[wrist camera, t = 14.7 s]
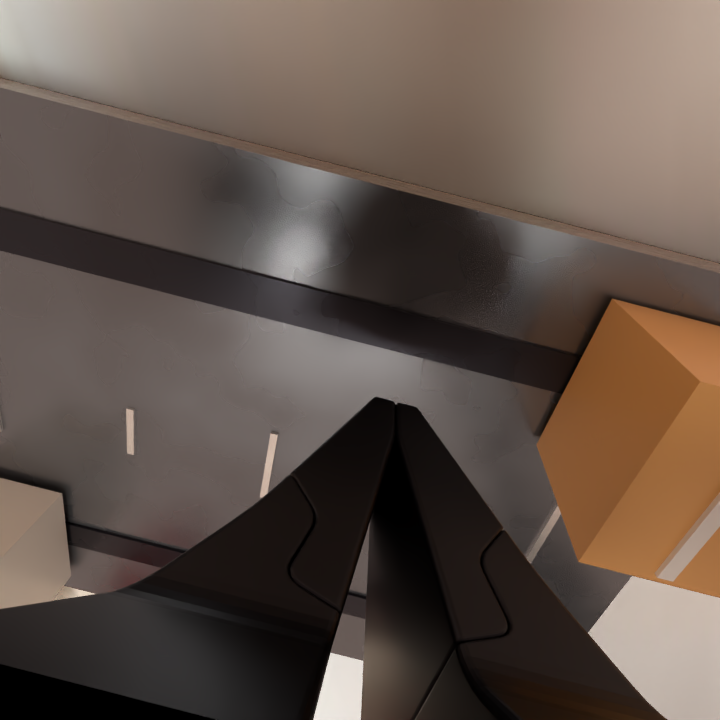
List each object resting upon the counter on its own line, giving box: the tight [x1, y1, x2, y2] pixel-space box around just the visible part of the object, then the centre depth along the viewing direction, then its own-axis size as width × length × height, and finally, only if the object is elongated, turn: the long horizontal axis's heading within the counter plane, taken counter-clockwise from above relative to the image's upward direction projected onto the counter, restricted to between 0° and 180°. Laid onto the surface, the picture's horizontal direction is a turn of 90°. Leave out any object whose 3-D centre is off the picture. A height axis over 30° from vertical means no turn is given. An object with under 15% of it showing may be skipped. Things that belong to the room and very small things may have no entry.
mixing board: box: [0, 78, 720, 661], centre depth 14 cm, size 22×16×2 cm
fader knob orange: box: [537, 299, 720, 598], centre depth 9 cm, size 3×4×4 cm
